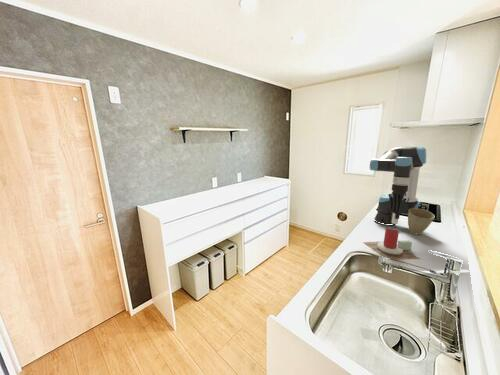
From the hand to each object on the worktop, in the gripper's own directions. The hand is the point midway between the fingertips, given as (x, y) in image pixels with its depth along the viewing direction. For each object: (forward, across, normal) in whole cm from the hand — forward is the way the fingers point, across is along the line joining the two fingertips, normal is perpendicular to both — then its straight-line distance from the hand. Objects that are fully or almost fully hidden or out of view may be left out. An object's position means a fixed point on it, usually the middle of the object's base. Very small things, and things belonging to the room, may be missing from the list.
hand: (394, 223), depth 120 cm
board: (+19, 0, 0) cm, 19 cm away
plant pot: (+18, -28, +41) cm, 53 cm away
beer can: (+15, 0, 0) cm, 15 cm away
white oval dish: (+17, -1, +3) cm, 17 cm away
